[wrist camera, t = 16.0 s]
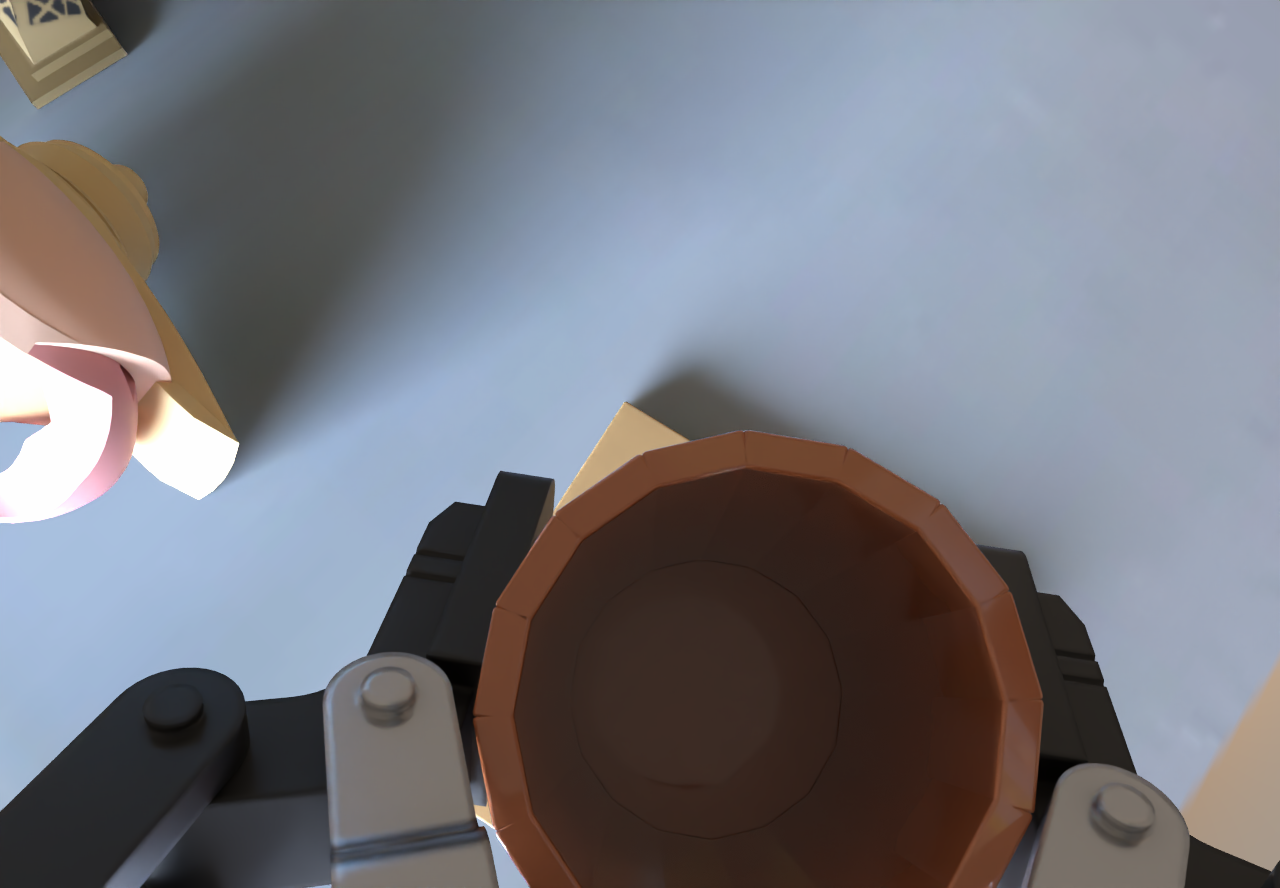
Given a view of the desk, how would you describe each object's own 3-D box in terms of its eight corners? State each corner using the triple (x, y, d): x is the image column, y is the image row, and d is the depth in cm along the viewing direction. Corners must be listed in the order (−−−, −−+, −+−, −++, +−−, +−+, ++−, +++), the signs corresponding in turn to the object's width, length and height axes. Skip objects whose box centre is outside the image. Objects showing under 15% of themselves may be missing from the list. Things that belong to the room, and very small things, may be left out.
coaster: (980, 620, 26) (987, 619, 25) (767, 1007, 24) (768, 1014, 23) (625, 405, 27) (624, 400, 26) (396, 758, 25) (391, 760, 24)
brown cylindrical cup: (911, 645, 19) (1138, 617, 10) (757, 919, 18) (865, 1143, 9) (655, 488, 20) (667, 337, 11) (493, 745, 19) (365, 802, 10)
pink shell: (-30, 163, 29) (97, -59, 23) (249, 426, 32) (428, 296, 26) (-372, 363, 23) (-328, 132, 16) (18, 666, 26) (180, 570, 20)
